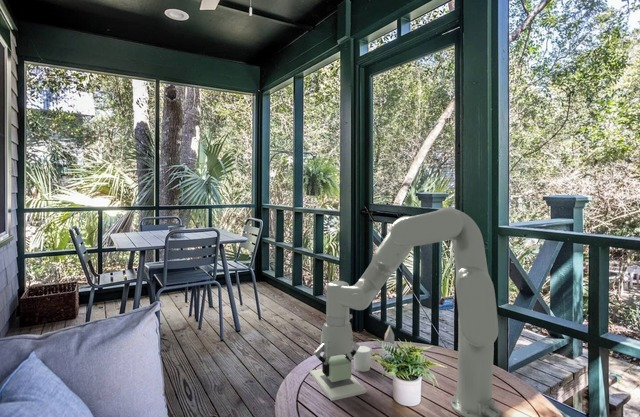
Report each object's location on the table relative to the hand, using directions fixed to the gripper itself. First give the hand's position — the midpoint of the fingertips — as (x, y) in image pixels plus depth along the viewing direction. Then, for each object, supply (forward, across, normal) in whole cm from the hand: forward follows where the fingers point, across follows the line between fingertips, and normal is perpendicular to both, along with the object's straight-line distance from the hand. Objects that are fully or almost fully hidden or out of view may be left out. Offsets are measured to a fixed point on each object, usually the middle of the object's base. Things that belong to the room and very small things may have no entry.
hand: (336, 372), depth 123 cm
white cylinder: (+4, -13, -6) cm, 15 cm away
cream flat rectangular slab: (+4, 0, 0) cm, 4 cm away
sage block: (+1, 0, 0) cm, 1 cm away
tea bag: (+4, -29, -13) cm, 32 cm away
